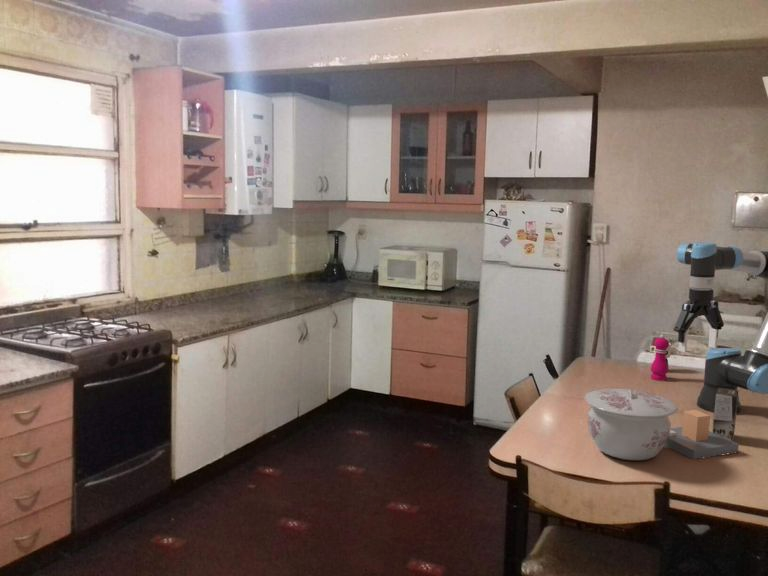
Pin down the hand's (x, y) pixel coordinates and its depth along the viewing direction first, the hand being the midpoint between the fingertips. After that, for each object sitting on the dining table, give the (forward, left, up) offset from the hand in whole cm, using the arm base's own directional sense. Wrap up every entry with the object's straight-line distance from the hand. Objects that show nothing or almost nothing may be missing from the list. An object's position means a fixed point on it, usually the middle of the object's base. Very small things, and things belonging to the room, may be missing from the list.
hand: (697, 349), depth 234 cm
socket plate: (+12, +14, -28) cm, 33 cm away
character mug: (-45, -65, -28) cm, 84 cm away
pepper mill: (-34, -54, -28) cm, 70 cm away
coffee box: (-4, +11, -29) cm, 31 cm away
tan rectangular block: (+12, +14, -28) cm, 33 cm away
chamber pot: (+37, +12, -29) cm, 48 cm away
